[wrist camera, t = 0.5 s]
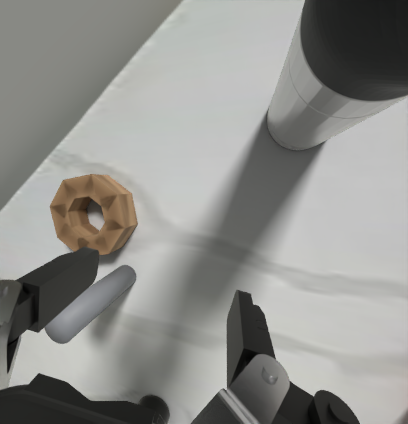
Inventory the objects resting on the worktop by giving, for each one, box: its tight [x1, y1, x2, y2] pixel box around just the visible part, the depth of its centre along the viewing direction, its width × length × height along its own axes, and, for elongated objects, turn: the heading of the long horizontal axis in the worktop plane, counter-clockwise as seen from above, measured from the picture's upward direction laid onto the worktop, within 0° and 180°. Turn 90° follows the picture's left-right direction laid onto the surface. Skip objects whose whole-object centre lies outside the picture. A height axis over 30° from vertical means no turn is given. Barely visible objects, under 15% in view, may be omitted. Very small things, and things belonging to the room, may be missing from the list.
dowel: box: [45, 265, 136, 344], centre depth 30 cm, size 4×4×14 cm
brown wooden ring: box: [50, 174, 138, 255], centre depth 34 cm, size 13×13×4 cm
